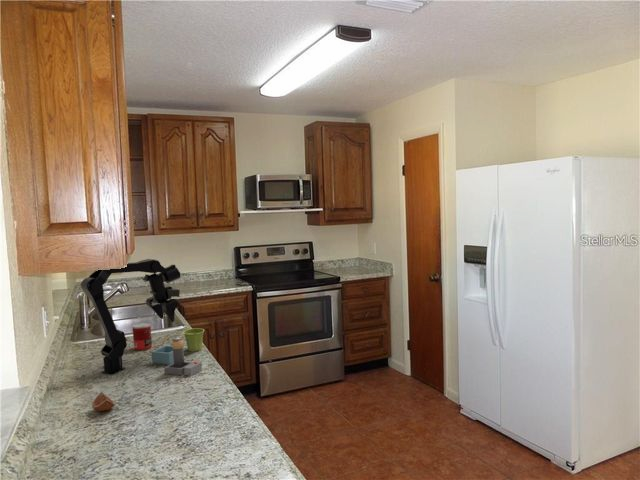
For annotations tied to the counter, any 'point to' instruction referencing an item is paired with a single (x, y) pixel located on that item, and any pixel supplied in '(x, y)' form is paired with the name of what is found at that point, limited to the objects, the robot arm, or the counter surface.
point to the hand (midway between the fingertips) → (167, 320)
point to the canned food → (142, 336)
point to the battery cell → (178, 353)
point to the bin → (163, 355)
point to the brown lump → (102, 403)
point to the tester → (184, 368)
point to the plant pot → (194, 339)
